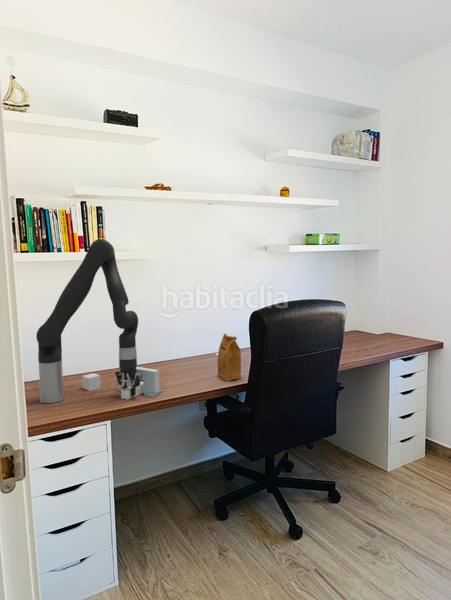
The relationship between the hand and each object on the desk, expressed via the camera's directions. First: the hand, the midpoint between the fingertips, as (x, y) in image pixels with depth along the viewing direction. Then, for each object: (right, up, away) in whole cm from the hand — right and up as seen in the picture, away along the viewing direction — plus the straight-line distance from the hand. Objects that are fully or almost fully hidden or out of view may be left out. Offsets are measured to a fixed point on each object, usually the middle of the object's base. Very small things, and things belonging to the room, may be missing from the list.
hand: (129, 395), depth 184 cm
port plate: (+3, 0, +6) cm, 7 cm away
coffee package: (+44, +2, +27) cm, 52 cm away
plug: (+3, 0, +6) cm, 6 cm away
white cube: (-21, 0, +13) cm, 24 cm away
